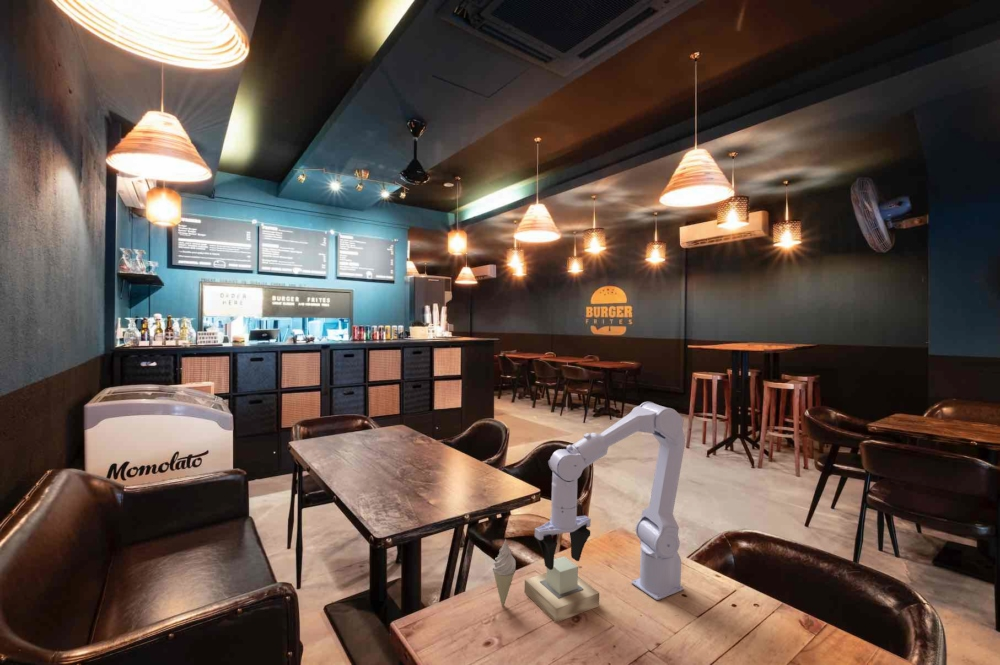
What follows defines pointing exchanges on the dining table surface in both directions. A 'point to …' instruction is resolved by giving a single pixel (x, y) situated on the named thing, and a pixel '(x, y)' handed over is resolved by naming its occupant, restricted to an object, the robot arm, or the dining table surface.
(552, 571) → the sage cube
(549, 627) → the dining table surface
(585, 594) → the birch pedestal
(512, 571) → the ice cream cone
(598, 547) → the dining table surface
